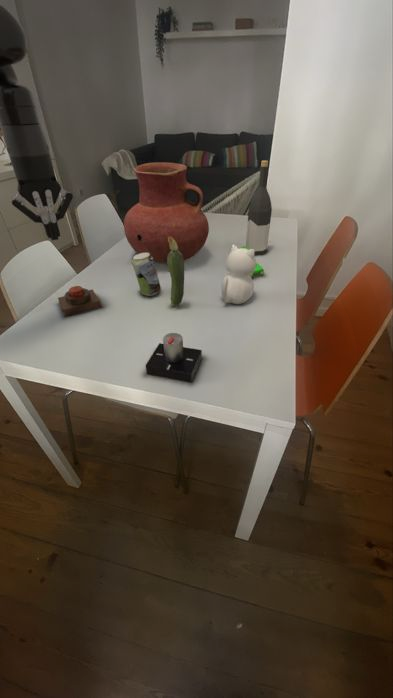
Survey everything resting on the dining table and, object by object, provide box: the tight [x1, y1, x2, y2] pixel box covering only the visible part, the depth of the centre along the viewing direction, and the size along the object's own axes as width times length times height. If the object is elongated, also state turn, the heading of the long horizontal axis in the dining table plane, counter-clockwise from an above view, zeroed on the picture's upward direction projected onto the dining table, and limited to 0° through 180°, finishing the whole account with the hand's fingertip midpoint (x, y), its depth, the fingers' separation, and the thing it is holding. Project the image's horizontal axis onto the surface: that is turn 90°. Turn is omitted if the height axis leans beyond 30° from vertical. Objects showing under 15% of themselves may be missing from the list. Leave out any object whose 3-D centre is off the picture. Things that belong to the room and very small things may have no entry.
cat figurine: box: [221, 243, 257, 305], centre depth 87 cm, size 9×12×15 cm
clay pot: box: [123, 161, 210, 264], centre depth 109 cm, size 30×29×30 cm
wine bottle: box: [245, 160, 273, 256], centre depth 112 cm, size 8×8×30 cm
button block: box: [57, 287, 102, 318], centre depth 90 cm, size 10×8×4 cm
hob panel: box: [145, 342, 203, 383], centre depth 69 cm, size 10×8×3 cm
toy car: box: [237, 246, 265, 278], centre depth 105 cm, size 11×7×7 cm, turn 28°
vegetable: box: [166, 237, 185, 308], centre depth 83 cm, size 4×4×20 cm
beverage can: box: [131, 253, 162, 297], centre depth 93 cm, size 6×7×12 cm
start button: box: [68, 285, 84, 297], centre depth 88 cm, size 4×4×2 cm
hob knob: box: [162, 332, 184, 363], centre depth 66 cm, size 4×4×5 cm
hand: (54, 239), depth 74 cm, fingers closed
